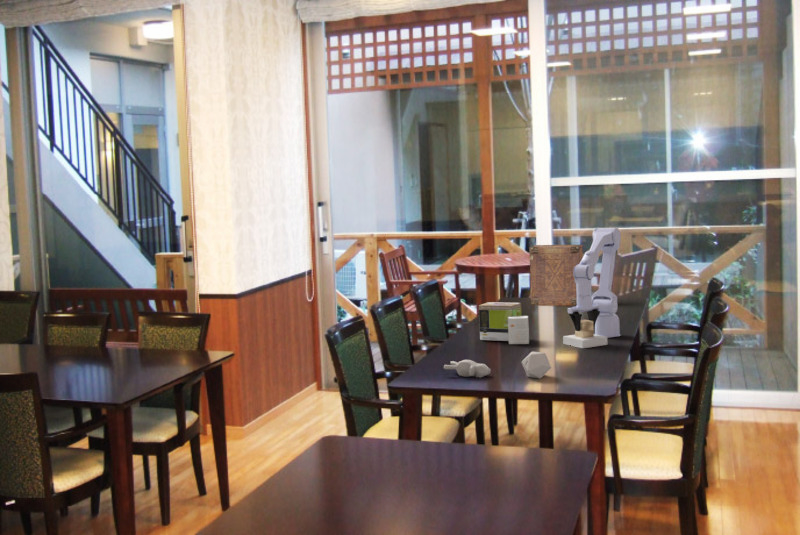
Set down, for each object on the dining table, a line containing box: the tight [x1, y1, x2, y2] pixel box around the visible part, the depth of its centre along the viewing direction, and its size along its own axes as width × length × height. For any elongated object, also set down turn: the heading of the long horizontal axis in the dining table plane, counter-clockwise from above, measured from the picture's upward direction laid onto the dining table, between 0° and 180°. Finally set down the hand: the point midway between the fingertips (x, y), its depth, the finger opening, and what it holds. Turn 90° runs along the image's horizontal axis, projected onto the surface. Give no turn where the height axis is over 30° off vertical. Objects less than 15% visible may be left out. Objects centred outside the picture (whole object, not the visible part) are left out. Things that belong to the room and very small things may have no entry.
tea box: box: [478, 301, 522, 342], centre depth 361 cm, size 15×10×15 cm
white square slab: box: [562, 333, 608, 349], centre depth 344 cm, size 12×12×3 cm
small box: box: [508, 315, 530, 345], centre depth 352 cm, size 8×6×10 cm
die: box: [521, 351, 552, 379], centre depth 293 cm, size 8×9×10 cm
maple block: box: [574, 319, 595, 338], centre depth 344 cm, size 5×5×6 cm
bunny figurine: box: [443, 359, 491, 379], centre depth 299 cm, size 10×5×15 cm
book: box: [528, 244, 584, 307], centre depth 449 cm, size 25×9×30 cm, turn 68°
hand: (584, 329), depth 344 cm, fingers open, 6 cm apart
